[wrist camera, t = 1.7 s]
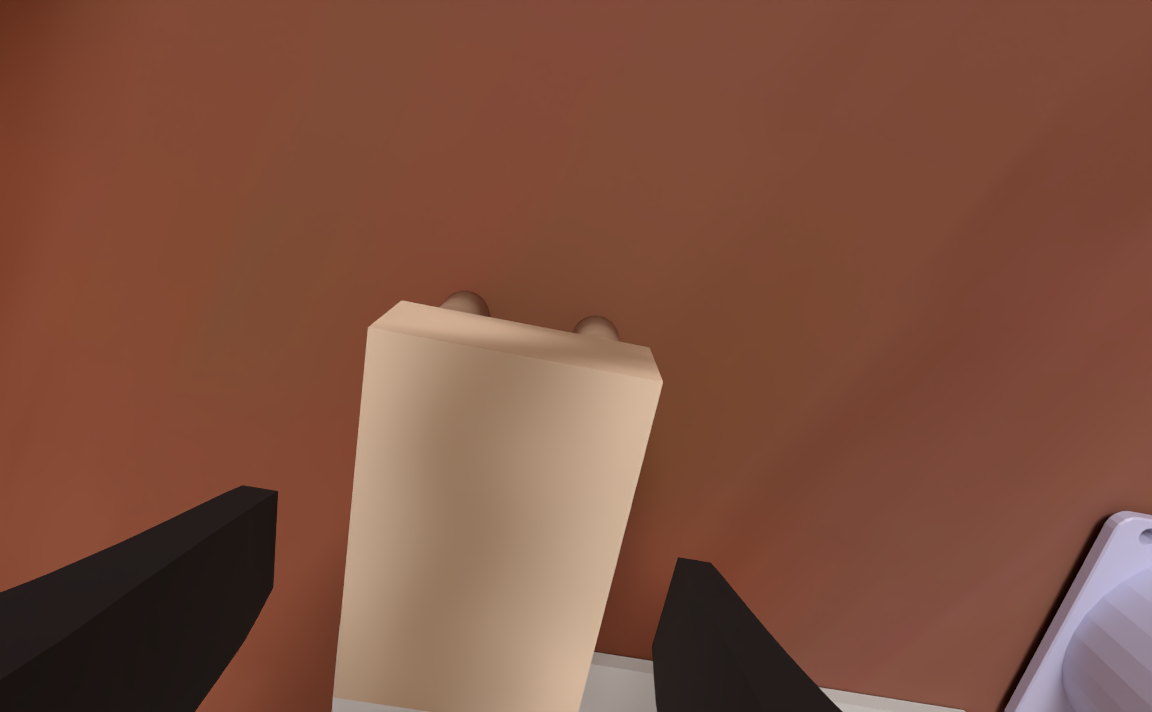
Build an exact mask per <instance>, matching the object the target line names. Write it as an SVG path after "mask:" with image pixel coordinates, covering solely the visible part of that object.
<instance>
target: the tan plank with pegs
mask: <svg viewBox="0 0 1152 712" xmlns="http://www.w3.org/2000/svg"><path fill="white" fill-rule="evenodd" d="M662 384H663V381H662V378H661V376H660V373H659V371H658V368H657V365H656V363H655V360H654V358H653V355H652V353H651V350H650V348H649V347H644V346H639V345H634V344H629V343H623V342H620V341H619V337H618V333H617V330H616V328H615V326H614V325H613V323H612V322H611V321H609V320H608V319H606V318H604V317H600V316H590V317H587V318H585V319H583V320H581V321H580V322H579V323H578V324H577V325H576V327H575V329H574V331H573V333H570V332H565V331H560V330H554V329H549V328H544V327H539V326H533V325H528V324H523V323H517V322H512V321H507V320H502V319H496V318H491V317H489V310H488V306H487V304H486V303H485V301H484V300H483V299H482V298H481V297H480V296H479V295H477V294H475V293H473V292H470V291H459V292H456V293H454V294H452V295H451V296H450V297H449V298H448V299H447V300H446V301H445V302H444V303H443V304H442V305H441V306H440V307H439V308H438V307H433V306H428V305H422V304H417V303H412V302H406V301H400V302H399V303H398V304H397V305H395V306H394V307H393V308H392V309H390V310H389V311H388V312H387V313H385V314H384V315H383V316H382V317H380V318H379V319H378V320H377V321H375V322H374V323H373V324H372V325H370V326H369V327H368V334H367V345H366V356H365V366H364V377H363V388H362V398H361V409H360V420H359V430H358V441H357V452H356V462H355V473H354V484H353V494H352V505H351V516H350V526H349V537H348V548H347V558H346V569H345V580H344V590H343V601H342V612H341V622H340V633H339V644H338V654H337V665H336V676H335V686H334V698H341V699H347V700H354V701H361V702H368V703H374V704H381V705H388V706H394V707H401V708H408V709H414V710H421V711H428V712H579V708H580V704H581V700H582V696H583V692H584V688H585V684H586V680H587V677H588V673H589V669H590V665H591V661H592V657H593V653H594V649H595V645H596V641H597V638H598V634H599V630H600V626H601V622H602V618H603V614H604V610H605V606H606V602H607V599H608V595H609V591H610V587H611V583H612V579H613V575H614V571H615V567H616V563H617V560H618V556H619V552H620V548H621V544H622V540H623V536H624V532H625V528H626V524H627V521H628V517H629V513H630V509H631V505H632V501H633V497H634V493H635V489H636V485H637V482H638V478H639V474H640V470H641V466H642V462H643V458H644V454H645V450H646V446H647V443H648V439H649V435H650V431H651V427H652V423H653V419H654V415H655V411H656V407H657V404H658V400H659V396H660V392H661V388H662Z"/></svg>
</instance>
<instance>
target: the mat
mask: <svg viewBox="0 0 1152 712" xmlns="http://www.w3.org/2000/svg"><path fill="white" fill-rule="evenodd" d="M339 633H340V628H339ZM338 644H339V638H338ZM337 654H338V649H337ZM336 665H337V660H336ZM335 676H336V671H335ZM334 686H335V681H334ZM819 688H820V687H819ZM820 689H821V690H822V691H823V692H824V693H825V694H826V695H827V696H828V697H829V699H830V700H831V701H832V702H833V703H834V704H835V705H836V706H837V707H838V708H839V709H841V710H842V711H843V712H965V710H960V709H953V708H947V707H940V706H934V705H928V704H921V703H915V702H909V701H902V700H896V699H890V698H883V697H877V696H871V695H864V694H858V693H852V692H845V691H839V690H833V689H826V688H820ZM332 712H428V711H421V710H414V709H408V708H401V707H394V706H388V705H381V704H374V703H368V702H361V701H354V700H347V699H341V698H334V692H333V703H332ZM579 712H657V708H656V701H655V688H654V673H653V661H649V660H642V659H636V658H630V657H623V656H617V655H611V654H604V653H598V652H594V653H593V657H592V661H591V665H590V669H589V673H588V677H587V680H586V684H585V688H584V692H583V696H582V700H581V704H580V708H579Z"/></svg>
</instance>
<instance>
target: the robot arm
mask: <svg viewBox="0 0 1152 712" xmlns="http://www.w3.org/2000/svg"><path fill="white" fill-rule="evenodd" d="M277 501H278V491H273V490H267V489H261V488H255V487H249V486H240V487H238V488H235V489H233V490H231V491H228V492H226V493H224V494H222V495H220V496H217V497H215V498H213V499H211V500H209V501H207V502H205V503H203V504H201V505H199V506H196V507H194V508H192V509H190V510H188V511H186V512H184V513H182V514H180V515H178V516H176V517H174V518H172V519H169V520H167V521H165V522H163V523H161V524H159V525H157V526H155V527H153V528H150V529H148V530H146V531H144V532H142V533H140V534H138V535H136V536H134V537H131V538H129V539H127V540H125V541H123V542H121V543H118V544H116V545H114V546H112V547H109V548H107V549H105V550H102V551H100V552H98V553H95V554H93V555H91V556H88V557H86V558H84V559H81V560H79V561H77V562H75V563H72V564H70V565H68V566H65V567H63V568H61V569H58V570H56V571H54V572H51V573H49V574H47V575H44V576H42V577H39V578H37V579H34V580H32V581H29V582H27V583H24V584H21V585H19V586H16V587H14V588H11V589H8V590H6V591H3V592H0V712H195V711H196V709H197V708H198V707H199V705H200V704H201V702H202V701H203V700H204V698H205V697H206V695H207V694H208V693H209V691H210V690H211V688H212V687H213V685H214V684H215V683H216V681H217V680H218V678H219V677H220V675H221V674H222V673H223V671H224V670H225V668H226V667H227V666H228V664H229V663H230V661H231V660H232V658H233V657H234V656H235V654H236V653H237V651H238V650H239V648H240V647H241V645H242V644H243V642H244V641H245V639H246V637H247V635H248V634H249V632H250V630H251V628H252V626H253V625H254V623H255V621H256V619H257V617H258V616H259V614H260V612H261V610H262V608H263V606H264V604H265V602H266V600H267V598H268V596H269V595H270V593H271V591H272V589H273V581H274V561H275V541H276V521H277ZM652 655H653V673H654V688H655V701H656V708H657V712H843V711H842V710H841V709H839V708H838V707H837V706H836V705H835V704H834V703H833V702H832V701H831V700H830V699H829V697H828V696H827V695H826V694H825V693H824V692H823V691H822V690H821V689H820V688H819V687H818V686H817V685H816V684H815V683H814V682H813V681H812V680H811V679H810V678H809V677H808V675H807V674H806V673H805V672H804V671H803V670H802V669H801V668H800V667H799V666H798V665H797V664H796V662H795V661H794V660H793V659H792V658H791V657H790V656H789V655H788V654H787V653H786V651H785V650H784V649H783V648H782V647H781V646H780V645H779V643H778V642H777V641H776V640H775V639H774V638H773V636H772V635H771V634H770V633H769V632H768V631H767V629H766V628H765V627H764V626H763V625H762V624H761V622H760V621H759V620H758V619H757V618H756V616H755V615H754V614H753V613H752V612H751V610H750V609H749V608H748V607H747V606H746V604H745V603H744V602H743V601H742V599H741V598H740V597H739V596H738V595H737V593H736V592H735V591H734V590H733V588H732V587H731V586H730V585H729V584H728V582H727V581H726V580H725V579H724V578H723V576H722V575H721V574H720V573H719V572H718V571H717V569H716V568H715V567H714V566H713V565H712V564H711V563H709V562H703V561H697V560H691V559H685V558H679V557H678V559H677V563H676V566H675V570H674V573H673V577H672V580H671V583H670V587H669V590H668V594H667V597H666V600H665V604H664V607H663V611H662V614H661V618H660V621H659V624H658V628H657V631H656V635H655V638H654V641H653V645H652ZM1004 712H1152V515H1147V514H1142V513H1136V512H1131V511H1122V512H1119V513H1116V514H1114V515H1112V516H1111V517H1109V518H1108V520H1107V521H1106V522H1105V524H1104V526H1103V528H1102V529H1101V531H1100V533H1099V535H1098V537H1097V539H1096V541H1095V542H1094V544H1093V546H1092V548H1091V550H1090V552H1089V554H1088V555H1087V557H1086V559H1085V561H1084V563H1083V565H1082V567H1081V569H1080V570H1079V572H1078V574H1077V576H1076V578H1075V580H1074V582H1073V583H1072V585H1071V587H1070V589H1069V591H1068V593H1067V595H1066V596H1065V598H1064V600H1063V602H1062V604H1061V606H1060V608H1059V609H1058V611H1057V613H1056V615H1055V617H1054V619H1053V621H1052V623H1051V624H1050V626H1049V628H1048V630H1047V632H1046V634H1045V636H1044V637H1043V639H1042V641H1041V643H1040V645H1039V647H1038V649H1037V650H1036V652H1035V654H1034V656H1033V658H1032V660H1031V662H1030V663H1029V665H1028V667H1027V669H1026V671H1025V673H1024V675H1023V677H1022V678H1021V680H1020V682H1019V684H1018V686H1017V688H1016V690H1015V691H1014V693H1013V695H1012V697H1011V699H1010V701H1009V703H1008V704H1007V706H1006V708H1005V711H1004Z"/></svg>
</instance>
